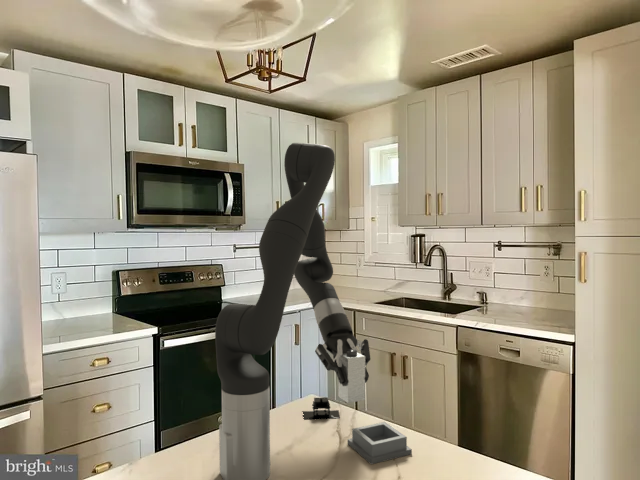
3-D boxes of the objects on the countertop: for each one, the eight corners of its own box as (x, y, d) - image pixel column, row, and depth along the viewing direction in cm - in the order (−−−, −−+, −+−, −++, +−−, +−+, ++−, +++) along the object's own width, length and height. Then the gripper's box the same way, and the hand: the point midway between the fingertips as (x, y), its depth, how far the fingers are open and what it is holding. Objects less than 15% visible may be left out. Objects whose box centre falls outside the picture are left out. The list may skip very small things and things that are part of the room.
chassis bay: (371, 464, 94) (371, 447, 94) (347, 443, 103) (347, 428, 103) (411, 453, 98) (411, 437, 98) (385, 435, 107) (385, 420, 107)
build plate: (297, 423, 115) (297, 405, 115) (296, 411, 122) (296, 394, 122) (346, 422, 116) (346, 404, 116) (343, 410, 123) (343, 393, 123)
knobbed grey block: (347, 402, 103) (347, 353, 103) (338, 396, 107) (338, 349, 107) (364, 399, 105) (365, 351, 105) (355, 393, 109) (355, 347, 109)
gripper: (310, 313, 110) (333, 378, 99) (362, 309, 116) (389, 370, 105) (301, 331, 115) (322, 395, 104) (352, 327, 121) (376, 386, 110)
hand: (355, 382), depth 105 cm, fingers closed on knobbed grey block, 4 cm apart
